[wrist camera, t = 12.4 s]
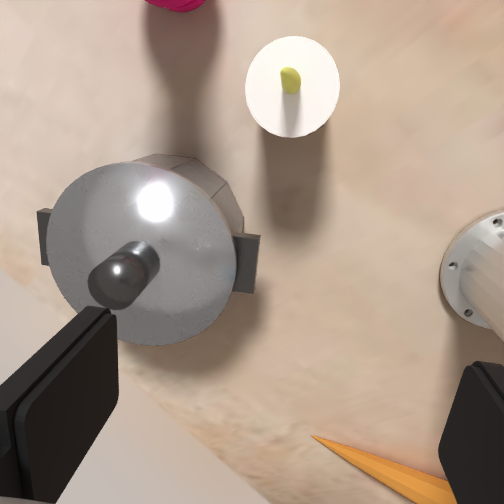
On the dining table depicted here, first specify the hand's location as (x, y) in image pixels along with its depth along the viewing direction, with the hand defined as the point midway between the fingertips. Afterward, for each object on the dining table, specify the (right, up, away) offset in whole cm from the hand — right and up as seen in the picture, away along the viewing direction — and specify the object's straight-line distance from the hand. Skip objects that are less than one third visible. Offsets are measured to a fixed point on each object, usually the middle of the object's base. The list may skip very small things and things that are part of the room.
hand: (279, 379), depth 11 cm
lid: (-10, +3, +24) cm, 26 cm away
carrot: (+16, -23, +39) cm, 48 cm away
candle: (+3, +18, +26) cm, 32 cm away
